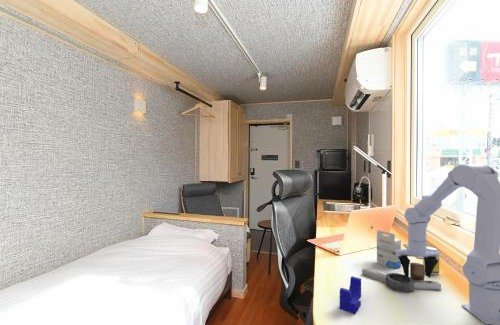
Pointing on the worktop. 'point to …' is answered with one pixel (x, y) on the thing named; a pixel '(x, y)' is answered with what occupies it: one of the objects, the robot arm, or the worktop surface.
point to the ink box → (388, 249)
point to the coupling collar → (401, 281)
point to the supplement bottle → (436, 268)
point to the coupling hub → (417, 271)
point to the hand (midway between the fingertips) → (417, 275)
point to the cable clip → (351, 296)
